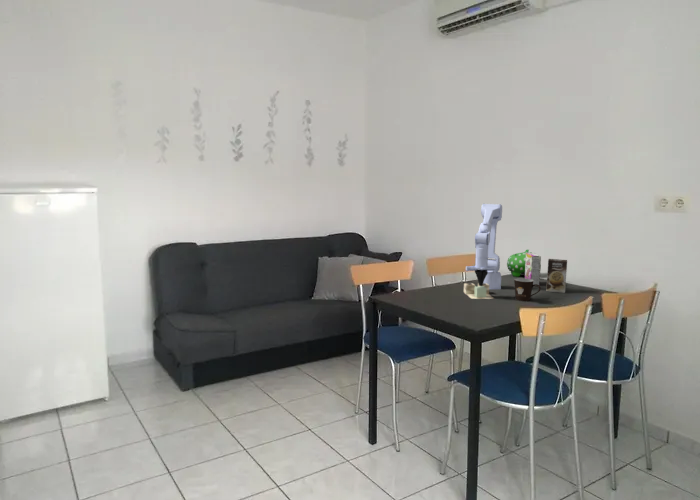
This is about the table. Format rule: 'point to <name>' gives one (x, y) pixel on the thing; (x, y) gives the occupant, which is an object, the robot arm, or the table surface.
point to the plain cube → (480, 291)
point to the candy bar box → (533, 267)
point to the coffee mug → (524, 289)
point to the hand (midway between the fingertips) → (480, 285)
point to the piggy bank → (517, 263)
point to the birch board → (480, 297)
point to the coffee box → (556, 275)
